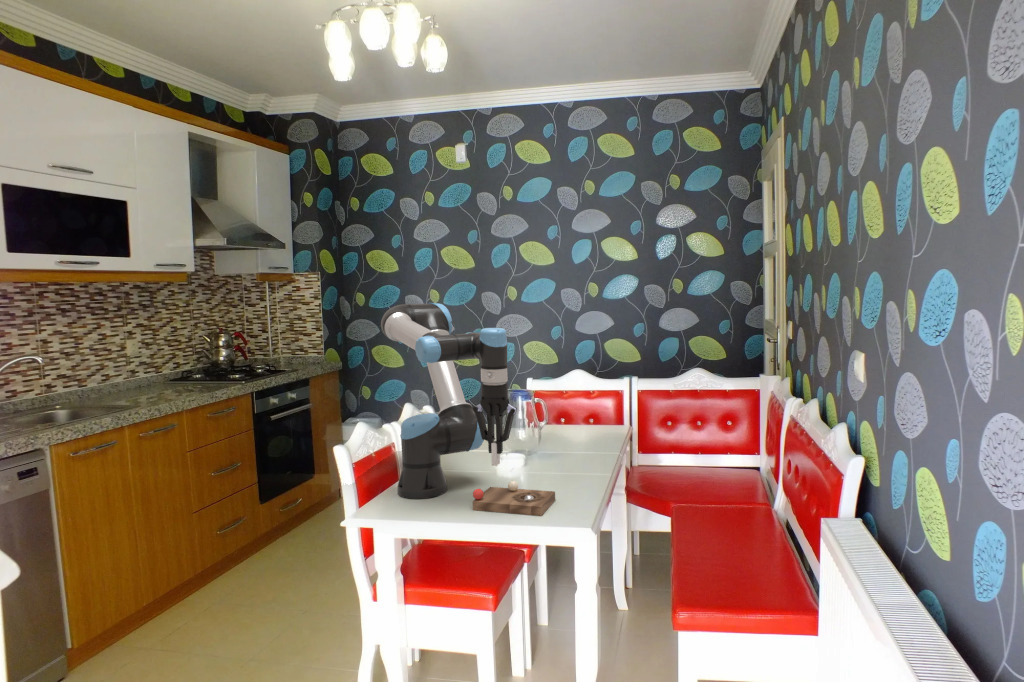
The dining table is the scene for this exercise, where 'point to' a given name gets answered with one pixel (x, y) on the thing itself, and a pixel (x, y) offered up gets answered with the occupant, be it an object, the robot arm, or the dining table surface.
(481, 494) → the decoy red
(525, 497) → the steel ball
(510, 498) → the board
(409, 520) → the dining table surface
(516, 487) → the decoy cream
